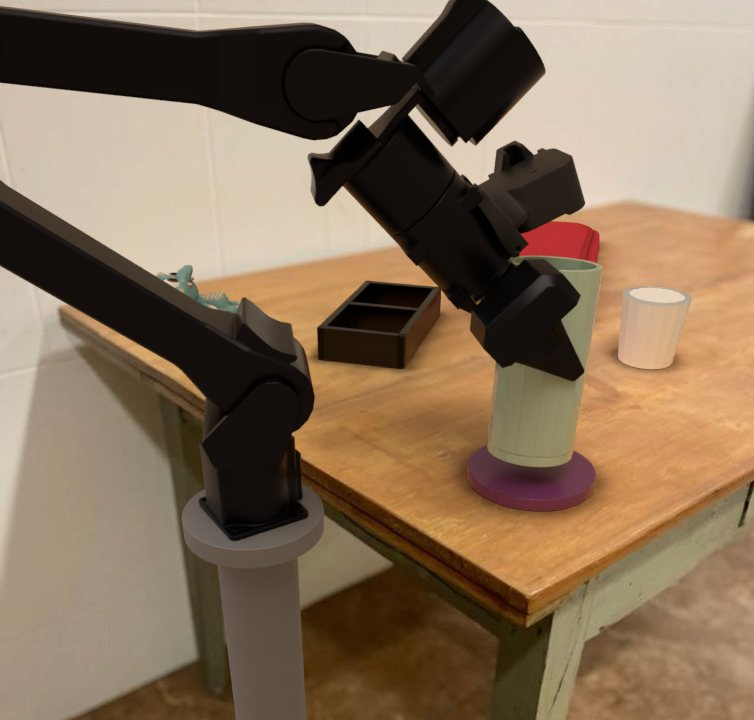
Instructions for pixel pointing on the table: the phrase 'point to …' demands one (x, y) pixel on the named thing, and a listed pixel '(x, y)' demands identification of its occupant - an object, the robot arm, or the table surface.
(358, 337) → the compartment tray
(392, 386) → the table surface
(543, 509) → the lid
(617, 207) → the table surface
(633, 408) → the table surface
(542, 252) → the dish drying mat
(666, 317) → the white cup
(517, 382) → the tumbler
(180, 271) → the stuffed animal
